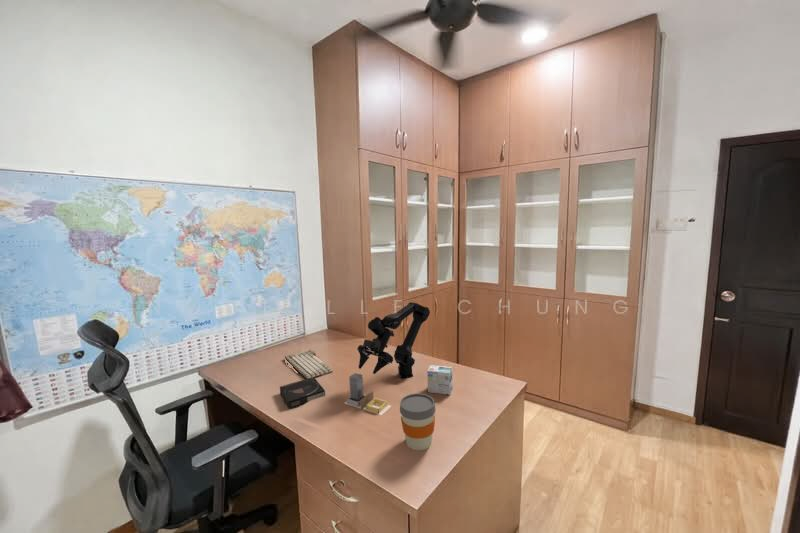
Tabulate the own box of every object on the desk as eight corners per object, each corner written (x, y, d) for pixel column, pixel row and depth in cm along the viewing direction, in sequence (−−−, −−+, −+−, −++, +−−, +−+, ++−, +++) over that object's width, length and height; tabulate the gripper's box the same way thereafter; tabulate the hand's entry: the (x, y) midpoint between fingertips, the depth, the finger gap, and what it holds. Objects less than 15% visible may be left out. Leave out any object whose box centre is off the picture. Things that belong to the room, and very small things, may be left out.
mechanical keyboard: (338, 371, 176) (338, 365, 176) (305, 383, 164) (304, 377, 164) (311, 352, 206) (310, 347, 205) (281, 361, 194) (280, 356, 194)
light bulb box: (453, 388, 151) (452, 366, 150) (450, 395, 145) (450, 372, 143) (431, 385, 154) (430, 364, 153) (427, 392, 148) (426, 370, 147)
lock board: (392, 407, 137) (391, 396, 136) (381, 417, 130) (380, 405, 130) (355, 396, 147) (354, 386, 147) (343, 405, 141) (343, 394, 140)
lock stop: (363, 400, 142) (362, 374, 140) (358, 405, 138) (356, 378, 137) (356, 398, 144) (355, 373, 142) (351, 402, 141) (349, 376, 139)
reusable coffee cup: (406, 428, 122) (405, 391, 121) (439, 433, 119) (438, 395, 117) (397, 450, 110) (394, 410, 109) (433, 456, 107) (431, 414, 105)
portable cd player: (289, 410, 139) (288, 402, 139) (280, 394, 154) (279, 386, 153) (325, 398, 148) (325, 390, 147) (314, 384, 162) (313, 376, 162)
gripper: (358, 328, 153) (342, 358, 146) (387, 335, 140) (371, 368, 133) (371, 339, 159) (356, 368, 152) (400, 347, 147) (385, 379, 140)
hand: (366, 371), depth 144 cm, fingers open, 9 cm apart
